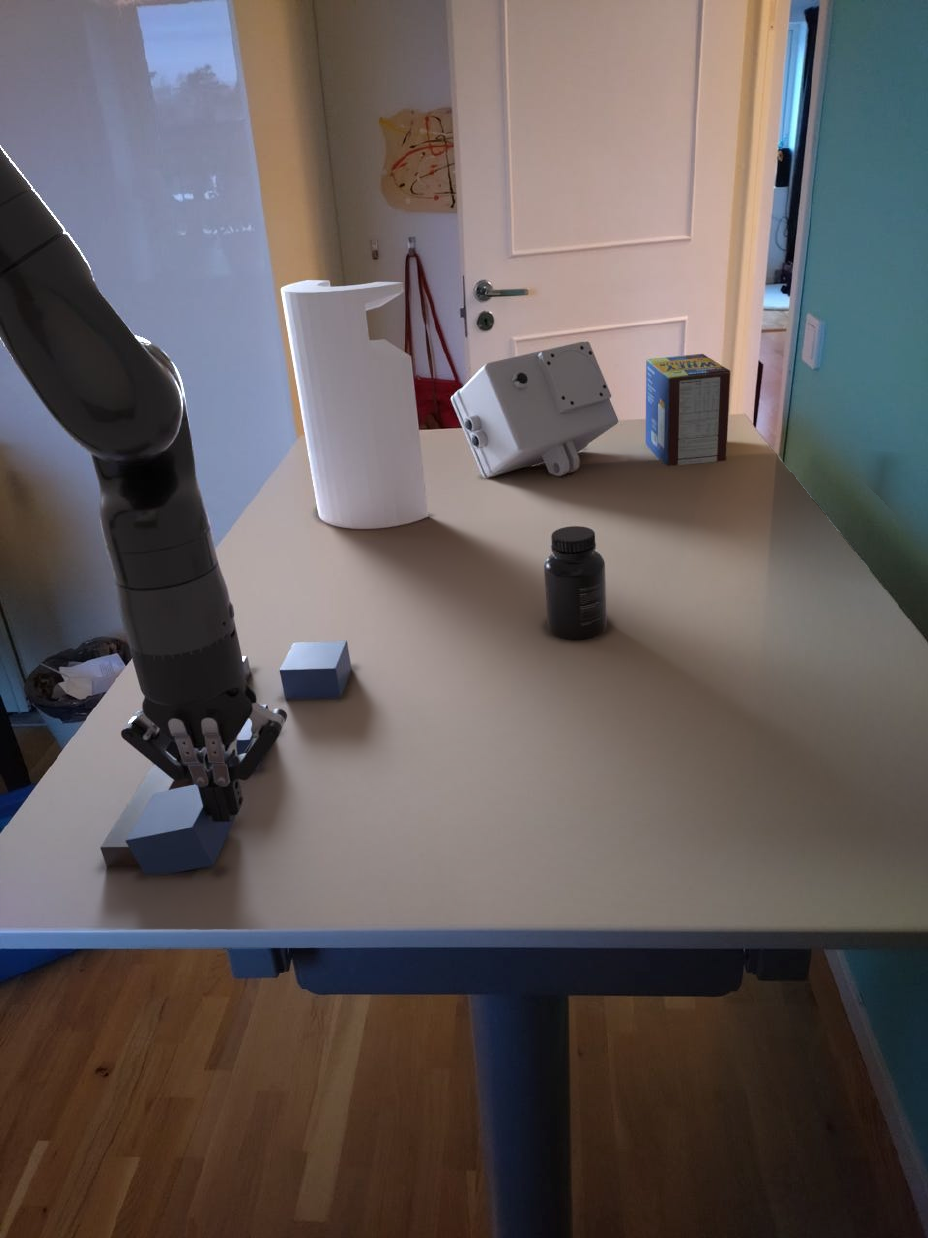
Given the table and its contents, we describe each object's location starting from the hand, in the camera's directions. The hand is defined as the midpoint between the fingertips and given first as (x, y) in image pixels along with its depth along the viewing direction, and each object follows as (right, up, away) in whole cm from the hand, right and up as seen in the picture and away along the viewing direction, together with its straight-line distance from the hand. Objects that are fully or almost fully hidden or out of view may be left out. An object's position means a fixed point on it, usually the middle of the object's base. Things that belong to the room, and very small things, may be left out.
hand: (226, 815), depth 72 cm
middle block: (-3, +3, +14) cm, 15 cm away
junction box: (+32, +43, +87) cm, 102 cm away
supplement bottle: (+32, +14, +31) cm, 47 cm away
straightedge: (-7, +2, +15) cm, 17 cm away
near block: (-3, -3, +2) cm, 5 cm away
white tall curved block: (+3, +32, +71) cm, 78 cm away
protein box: (+58, +45, +87) cm, 114 cm away
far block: (+4, +8, +25) cm, 26 cm away
